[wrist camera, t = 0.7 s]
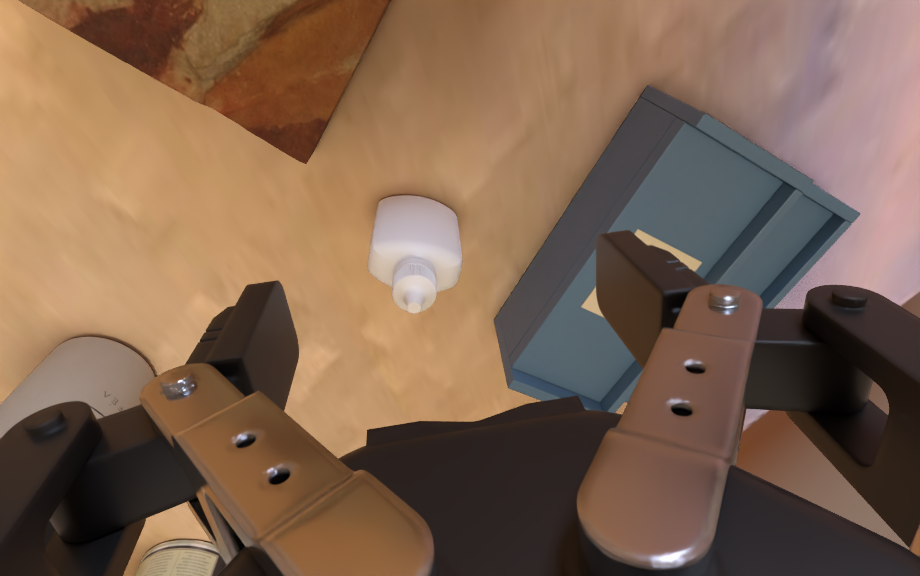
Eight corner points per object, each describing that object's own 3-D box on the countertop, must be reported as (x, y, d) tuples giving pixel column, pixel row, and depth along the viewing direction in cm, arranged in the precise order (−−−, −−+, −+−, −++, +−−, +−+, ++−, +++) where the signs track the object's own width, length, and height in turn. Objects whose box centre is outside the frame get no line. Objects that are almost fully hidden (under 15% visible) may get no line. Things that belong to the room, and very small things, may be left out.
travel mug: (65, 410, 45) (-124, 640, 29) (38, 331, 41) (-196, 548, 26) (165, 413, 46) (34, 639, 30) (148, 336, 42) (-12, 550, 26)
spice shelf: (647, 84, 35) (705, 113, 28) (821, 191, 39) (909, 239, 32) (493, 320, 43) (507, 388, 36) (651, 386, 48) (691, 458, 40)
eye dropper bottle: (427, 261, 40) (428, 361, 30) (365, 216, 38) (344, 306, 28) (466, 219, 39) (482, 309, 28) (404, 169, 37) (397, 247, 26)
